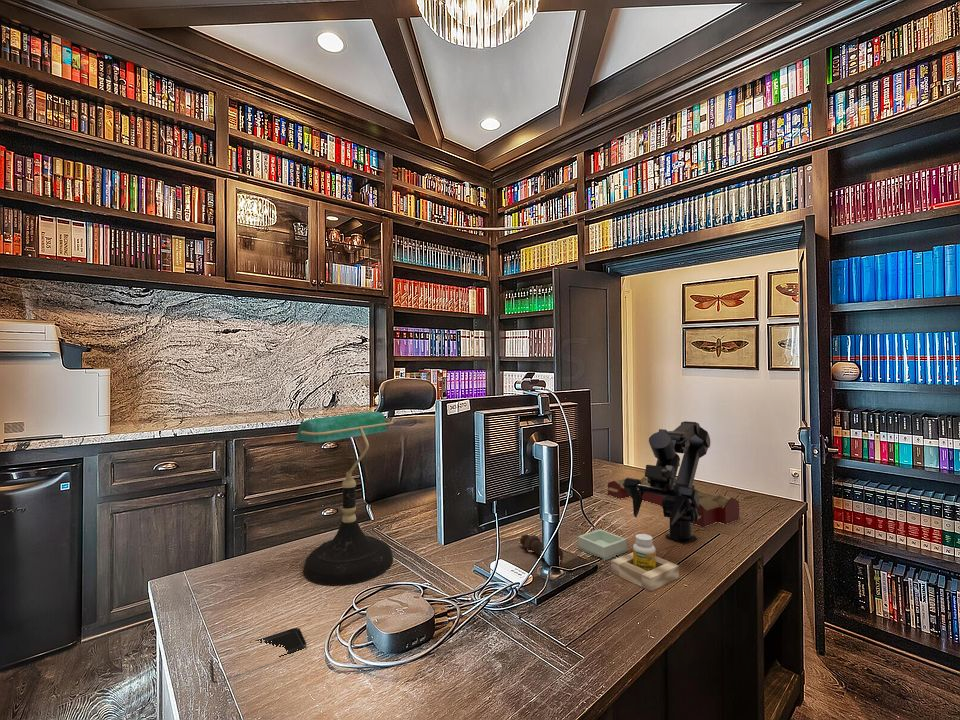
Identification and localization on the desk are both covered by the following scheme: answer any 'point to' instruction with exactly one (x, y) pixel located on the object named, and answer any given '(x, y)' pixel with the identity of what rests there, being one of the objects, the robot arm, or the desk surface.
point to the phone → (287, 640)
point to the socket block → (645, 572)
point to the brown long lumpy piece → (535, 544)
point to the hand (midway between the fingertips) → (652, 520)
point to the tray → (602, 544)
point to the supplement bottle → (644, 552)
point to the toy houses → (708, 510)
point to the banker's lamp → (346, 510)
